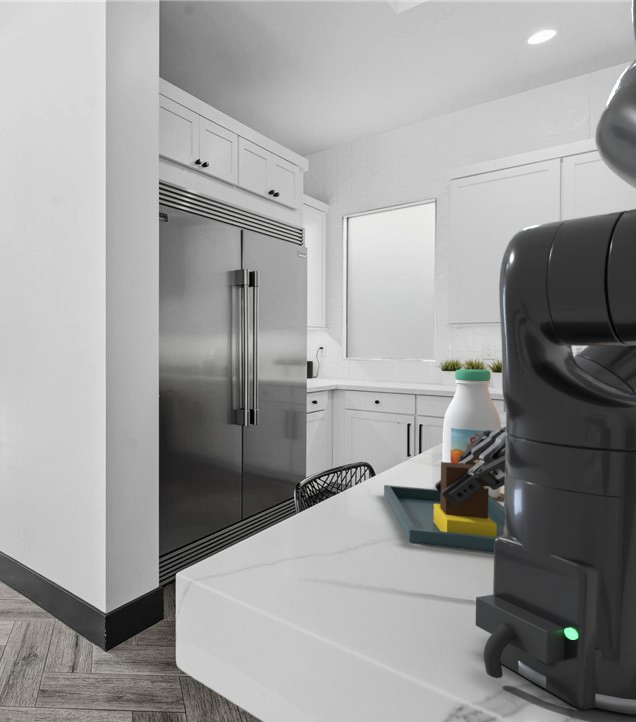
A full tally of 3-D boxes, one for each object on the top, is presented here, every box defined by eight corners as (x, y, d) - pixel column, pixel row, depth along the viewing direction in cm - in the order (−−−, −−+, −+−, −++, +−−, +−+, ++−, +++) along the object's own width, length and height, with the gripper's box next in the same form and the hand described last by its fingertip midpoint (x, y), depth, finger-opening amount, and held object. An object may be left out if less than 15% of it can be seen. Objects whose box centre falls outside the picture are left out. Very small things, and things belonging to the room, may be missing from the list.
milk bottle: (431, 490, 88) (433, 369, 87) (459, 485, 91) (462, 368, 90) (481, 502, 81) (484, 371, 80) (510, 496, 84) (513, 370, 83)
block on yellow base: (496, 545, 62) (498, 473, 62) (446, 539, 64) (447, 470, 64) (478, 526, 69) (479, 461, 69) (433, 521, 71) (434, 458, 70)
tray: (550, 563, 59) (551, 545, 58) (409, 546, 64) (409, 529, 63) (487, 507, 79) (487, 493, 79) (383, 497, 84) (384, 484, 84)
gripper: (518, 377, 70) (409, 462, 75) (568, 385, 57) (432, 487, 61) (568, 419, 68) (453, 504, 73) (631, 437, 55) (486, 538, 60)
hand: (444, 496), depth 67 cm, fingers closed on block on yellow base, 3 cm apart
